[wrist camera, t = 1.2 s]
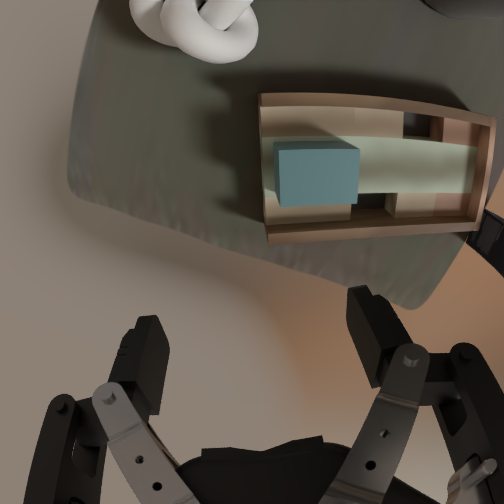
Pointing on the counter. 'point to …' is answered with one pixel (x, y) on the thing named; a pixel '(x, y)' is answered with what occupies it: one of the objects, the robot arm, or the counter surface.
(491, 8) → the canister
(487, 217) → the small box
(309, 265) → the counter surface
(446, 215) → the track
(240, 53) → the white knot sculpture
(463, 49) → the counter surface
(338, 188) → the block
